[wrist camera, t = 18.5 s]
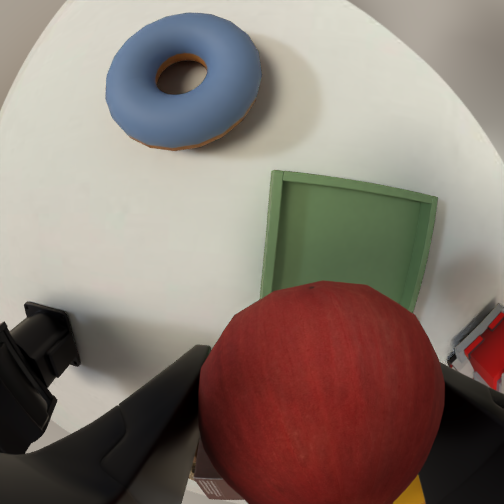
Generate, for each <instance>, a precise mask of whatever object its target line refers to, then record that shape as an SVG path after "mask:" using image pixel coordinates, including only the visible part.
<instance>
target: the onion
mask: <svg viewBox="0 0 504 504" xmlns="http://www.w3.org/2000/svg"><path fill="white" fill-rule="evenodd" d="M444 399H445V383H444V378H443V374H442V370H441V366H440V362H439V359H438V357H437V355H436V353H435V351H434V348H433V346H432V344H431V342H430V340H429V338H428V336H427V334H426V332H425V331H424V329H423V327H422V326H421V324H420V322H419V321H418V319H417V317H416V316H415V315H414V314H413V313H411V312H410V311H408V310H407V309H406V308H404V307H403V306H401V305H400V304H398V303H397V302H395V301H394V300H392V299H390V298H389V297H387V296H385V295H384V294H382V293H380V292H379V291H377V290H375V289H373V288H372V287H370V286H368V285H365V284H354V283H344V282H334V281H324V280H322V281H318V282H313V283H309V284H304V285H300V286H295V287H290V288H286V289H281V290H276V291H273V292H272V293H270V294H268V295H267V296H265V297H263V298H262V299H260V300H259V301H257V302H255V303H254V304H252V305H250V306H249V307H247V308H245V309H244V310H242V311H240V312H239V313H237V314H235V315H234V316H233V318H232V319H231V321H230V322H229V324H228V325H227V327H226V328H225V330H224V331H223V333H222V334H221V336H220V338H219V339H218V341H217V342H216V344H215V345H214V347H213V348H212V350H211V352H210V354H209V355H208V357H207V359H206V360H205V362H204V364H203V365H202V367H201V371H200V381H199V392H198V426H199V431H200V436H201V440H202V445H203V448H204V450H205V452H206V454H207V456H208V458H209V460H210V461H211V463H212V465H213V467H214V468H215V469H216V471H217V472H218V473H219V475H220V476H221V477H222V478H223V480H224V481H225V482H226V483H227V484H228V485H229V486H230V487H231V488H232V489H233V490H234V491H235V492H237V493H238V494H239V495H240V496H241V497H242V498H243V499H244V500H245V501H246V502H247V503H248V504H392V503H393V502H394V501H395V500H396V499H397V498H398V497H399V496H400V495H401V494H402V493H403V492H404V491H405V490H406V489H407V487H408V486H409V485H410V484H411V483H412V481H413V480H414V479H415V478H416V477H417V475H418V473H419V472H420V470H421V468H422V467H423V465H424V463H425V461H426V460H427V457H428V455H429V453H430V450H431V448H432V445H433V443H434V440H435V437H436V435H437V432H438V429H439V426H440V422H441V418H442V414H443V409H444Z"/></svg>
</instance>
